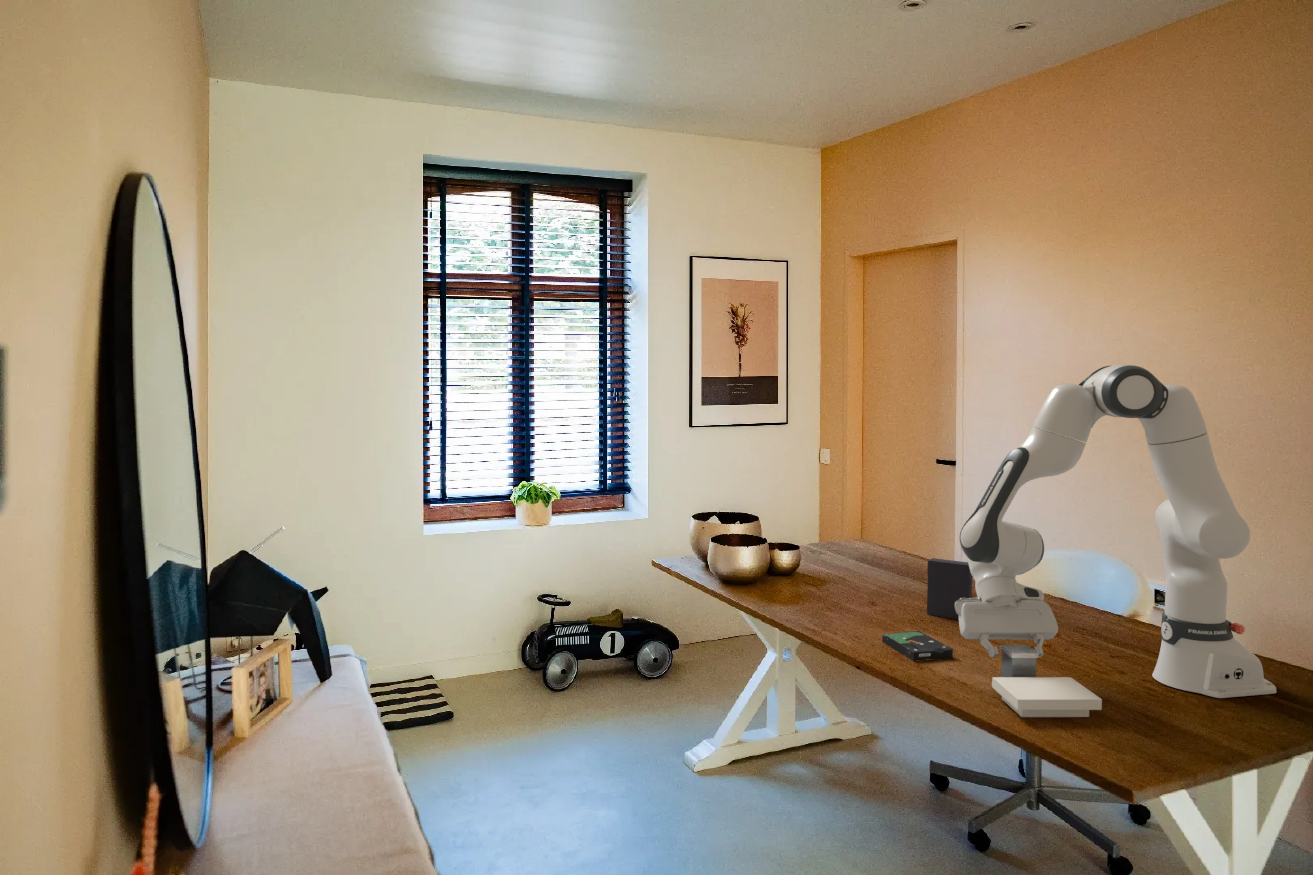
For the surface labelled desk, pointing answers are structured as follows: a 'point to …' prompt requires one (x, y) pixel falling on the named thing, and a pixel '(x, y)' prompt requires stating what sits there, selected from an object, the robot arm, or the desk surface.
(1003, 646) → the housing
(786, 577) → the desk surface
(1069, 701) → the stand
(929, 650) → the disk drive
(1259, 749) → the desk surface
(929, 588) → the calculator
